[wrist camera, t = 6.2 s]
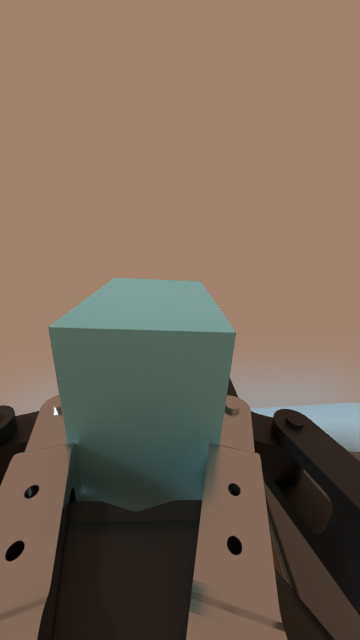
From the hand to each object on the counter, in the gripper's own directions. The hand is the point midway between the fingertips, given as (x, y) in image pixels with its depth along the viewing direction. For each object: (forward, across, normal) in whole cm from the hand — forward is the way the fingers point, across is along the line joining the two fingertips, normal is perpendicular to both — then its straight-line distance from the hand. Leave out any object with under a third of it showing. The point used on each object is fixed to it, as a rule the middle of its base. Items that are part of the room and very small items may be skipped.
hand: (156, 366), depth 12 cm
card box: (-3, 0, +6) cm, 7 cm away
